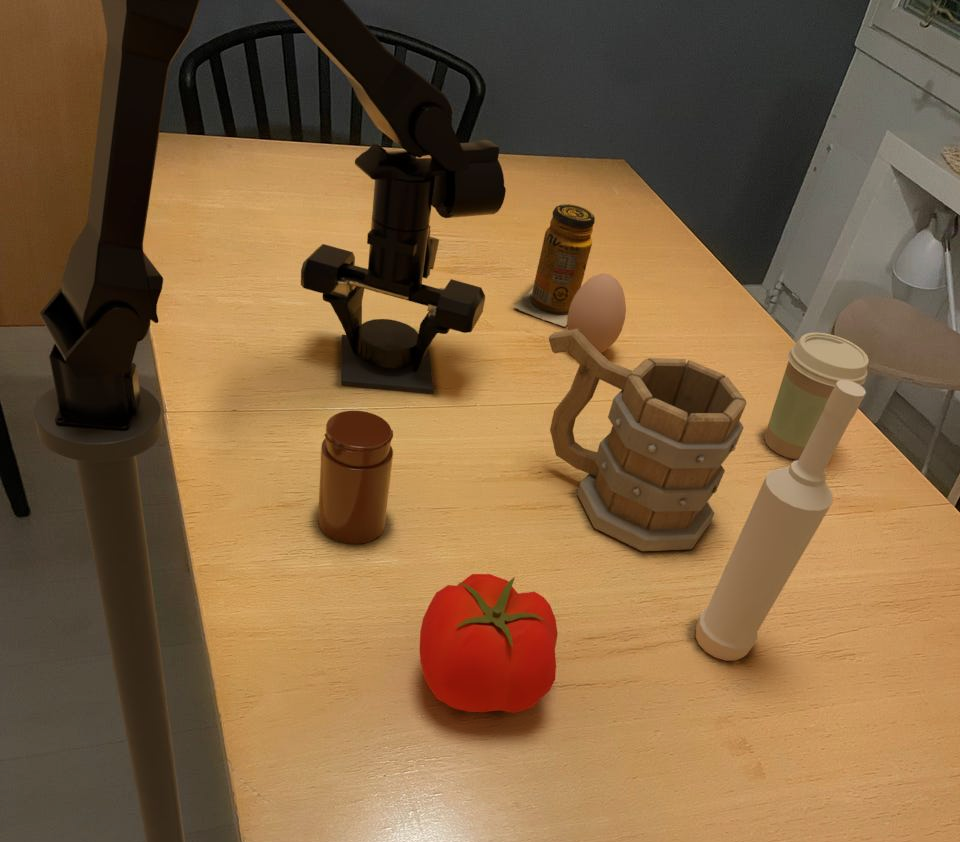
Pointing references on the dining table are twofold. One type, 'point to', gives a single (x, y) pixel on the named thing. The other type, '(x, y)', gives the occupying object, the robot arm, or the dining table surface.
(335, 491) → the jam jar
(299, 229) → the dining table surface
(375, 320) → the jar lid
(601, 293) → the egg
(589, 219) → the condiment
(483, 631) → the tomato
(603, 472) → the tankard
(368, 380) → the rubber mat
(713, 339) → the dining table surface
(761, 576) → the bottle
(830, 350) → the coffee cup
